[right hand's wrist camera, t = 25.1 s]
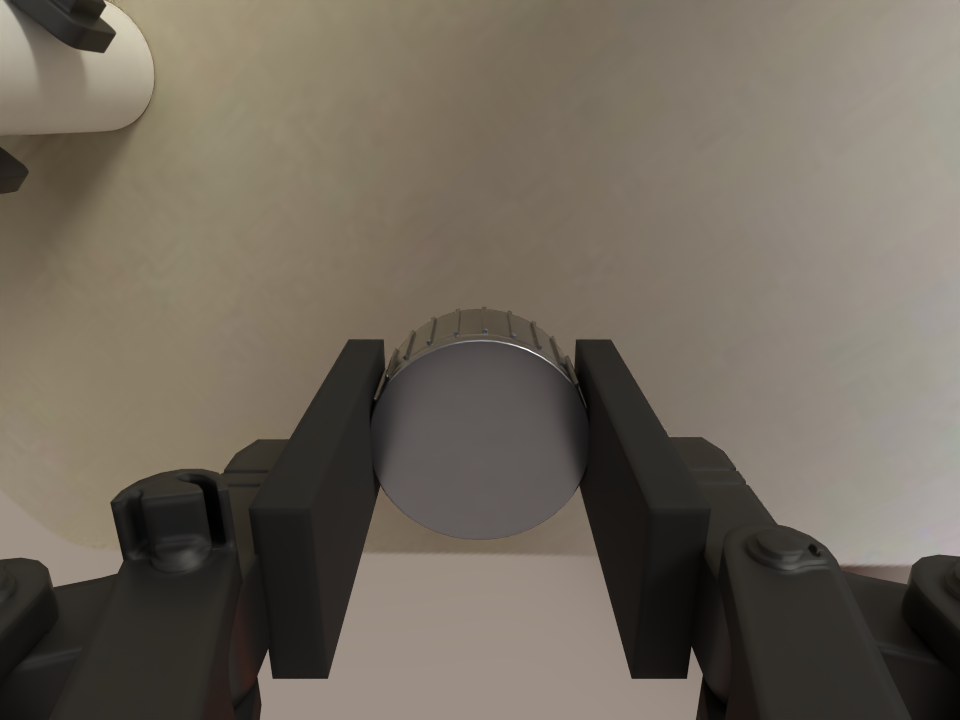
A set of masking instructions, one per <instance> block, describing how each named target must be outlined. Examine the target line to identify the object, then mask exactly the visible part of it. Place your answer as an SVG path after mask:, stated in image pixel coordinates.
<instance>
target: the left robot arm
mask: <svg viewBox="0 0 960 720" xmlns="http://www.w3.org/2000/svg"><path fill="white" fill-rule="evenodd" d="M11 1H12V2H13V3H14V4H15V5H17V6H18V7H19V8H20V9H21V10H23V11H24V12H25V13H26V14H27V15H29V16H30V17H31V18H32V19H33V20H35V21H36V22H37V23H38V24H40V25H41V26H42V27H43V28H44V29H46V30H47V31H48V32H49V33H50V34H52V35H53V36H54V37H55V38H57V39H58V40H60V41H61V42H63V43H65V44H66V45H68V46H70V47H72V48H75V49H78V50H84V51H90V52H97V53H105V51H106V50H107V48H108V47H109V45H110V43H111V42H112V40H113V39H114V37H115V35H116V31H115V30H114V29H113V28H112V27H111V26H110V25H109V24H108V23H106V22H105V21H104V20H103V19H102V18H101V17H100V16H101V14H102V12H103V11H104V9H105V7H106V6H107V5H106V4H105V2H104V0H11ZM28 173H29V172H28V169H27V168H26V167H25V166H24V165H23V164H22V163H21V162H19V161H18V160H17V159H15V158H14V157H13V156H12V155H10V154H9V153H8V152H6V151H5V150H4V149H3V148H1V147H0V194H3V193H9V192H15V191H17V190H18V189H19V187H20V186H21V184H22V183H23V181H24V179H25V178H26V176H27V175H28Z"/></svg>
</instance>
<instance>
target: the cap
mask: <svg viewBox="0 0 960 720" xmlns="http://www.w3.org/2000/svg"><path fill="white" fill-rule="evenodd" d="M579 386H580V384H579V381H578V379H577V376H576V373H575V371H574V368H573V366H572V363H571V361H570V358H569V356H568V355H567V356H565V355H564V353H563V352H562V350H561V349H560V347H559V346H558V345H557V342H556V339H555V338H554V337H553V336H552V337H550V336H549V335H547V334H546V333H545V332H544V331H543V330H542V329H540V328H539V327H537V326H536V322H534V321H532V322H529V321H527V320H525V319H523V318H521V317H518V316H515V315H513V314H512V312H511V311H508V313H506V312H501V311H497V310H487V309H486V307H482V309H472V310H462V311H460V309H456V312H453V313H450V314H447V315H444V316H441V317H439V318H437V319H436V318H435V317H433V318H431V321H430V322H428V323H427V324H425V325H424V326H422V327H421V328H419V329H418V330H417V331H415V332H414V331H413V330H412V331H411V332H410V335H409V337H408V339H407V340H406V341H405V342H404V343H403V344H402V345H401V346H400V348H399V349H395V350H394V352H393V355H392V358H391V360H390V363H389V366H388V369H387V370H384V372H383V375H382V378H381V380H380V383H379V386H378V388H377V391H376V394H375V396H374V399H373V402H375V406H374V409H373V412H372V415H371V418H370V437H371V452H372V466H373V470H374V473H375V475H376V477H377V480H378V482H379V484H380V485H381V487H382V488H383V490H384V492H385V493H386V495H387V496H388V497H389V498H390V500H391V501H392V502H393V503H394V504H395V505H396V506H397V507H398V508H399V509H400V510H401V511H402V512H403V513H404V514H406V515H407V516H408V517H410V518H411V519H412V520H414V521H416V522H417V523H419V524H421V525H423V526H424V527H426V528H429V529H431V530H433V531H436V532H438V533H441V534H445V535H448V536H451V537H457V538H463V539H475V540H484V539H496V538H502V537H508V536H511V535H515V534H518V533H521V532H524V531H526V530H529V529H531V528H533V527H535V526H537V525H539V524H540V523H542V522H544V521H545V520H547V519H548V518H550V517H551V516H552V515H554V514H555V513H556V512H557V511H558V510H559V509H561V508H562V507H563V506H564V505H565V504H566V502H567V501H568V500H569V499H570V498H571V497H572V495H573V494H574V492H575V491H576V489H577V488H578V486H579V485H580V483H581V481H582V479H583V476H584V474H585V472H586V469H587V459H588V443H589V427H590V419H589V416H588V412H587V407H586V404H585V401H584V399H583V396H582V393H581V390H580V388H579Z"/></svg>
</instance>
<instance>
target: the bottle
mask: <svg viewBox="0 0 960 720" xmlns="http://www.w3.org/2000/svg"><path fill="white" fill-rule="evenodd" d="M104 2H105V4H106V5H107V6H106V7H105V9H104V11H103V12H102V14H101V16H100V17H101V18H102V19H103V20H104V21H105V22H106V23H108V24H109V25H110V26H111V27H112V28H113V29H114V30H115V31H116V35H115V37H114V39H113V40H112V42H111V43H110V45H109V47H108V48H107V50H106V51H105V53H97V52H90V51H84V50H78V49H75V48H72V47H70V46H68V45H66V44H65V43H63V42H61V41H60V40H58V39H57V38H55V37H54V36H53V35H52V34H50V33H49V32H48V31H47V30H46V29H44V28H43V27H42V26H41V25H40V24H38V23H37V22H36V21H35V20H33V19H32V18H31V17H30V16H29V15H27V14H26V13H25V12H24V11H23V10H21V9H20V8H19V7H18V6H17V5H15V4H14V3H13V2H12V1H11V0H0V136H10V135H33V134H55V133H78V132H101V131H113V130H117V129H121V128H123V127H125V126H128V125H129V124H131V123H132V122H134V121H135V120H136V119H137V118H138V117H140V116H141V114H142V113H143V112H144V110H145V109H146V107H147V105H148V103H149V101H150V99H151V96H152V92H153V88H154V66H153V60H152V57H151V53H150V50H149V48H148V45H147V43H146V41H145V39H144V37H143V35H142V34H141V32H140V31H139V29H138V28H137V26H136V25H135V24H134V23H133V21H132V20H131V19H130V18H129V17H128V16H127V15H126V14H125V13H124V12H123V11H121V10H120V9H119V8H117V7H116V6H114V5H113V4H111V3H109V2H108V1H105V0H104Z"/></svg>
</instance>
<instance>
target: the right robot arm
mask: <svg viewBox="0 0 960 720" xmlns="http://www.w3.org/2000/svg"><path fill="white" fill-rule="evenodd" d="M384 370H385V357H384V340H348V342H347V343H346V345H345V347H344V348H343V350H342V352H341V353H340V355H339V357H338V359H337V360H336V362H335V364H334V365H333V367H332V369H331V370H330V372H329V374H328V375H327V377H326V379H325V380H324V382H323V384H322V385H321V387H320V389H319V390H318V392H317V394H316V395H315V397H314V399H313V401H312V402H311V404H310V406H309V407H308V409H307V411H306V412H305V414H304V416H303V417H302V419H301V421H300V422H299V424H298V426H297V427H296V429H295V431H294V432H293V434H292V436H291V437H290V439H286V440H257V441H255V442H253V443H252V444H250V445H249V446H247V447H246V448H244V449H243V450H241V451H239V452H238V453H236V454H235V456H234V457H233V459H232V460H231V461H230V463H229V464H228V465H227V467H226V468H225V470H224V473H222V474H221V475H220V474H219V473H217V472H213V471H209V470H204V469H180V470H174V471H169V472H163V473H159V474H156V475H153V476H150V477H148V478H145V479H142V480H139V481H137V482H136V483H134V484H132V485H130V486H129V487H127V488H125V489H124V490H122V491H121V492H120V493H119V494H118V495H117V496H116V497H115V498H114V499H113V500H112V501H111V502H110V503H111V508H112V512H113V516H114V521H115V525H116V530H117V534H118V538H119V543H120V547H121V551H122V556H123V560H124V561H123V563H122V565H121V567H120V569H119V572H118V574H114V575H110V576H106V577H103V578H98V579H93V580H88V581H83V582H78V583H73V584H68V585H63V586H58V587H53V585H52V581H51V578H50V574H49V571H48V568H47V567H46V566H44V565H43V564H42V563H41V562H39V561H37V560H32V559H26V558H13V559H3V560H0V720H260V712H261V698H260V691H259V684H258V678H257V675H258V673H259V670H260V668H261V665H262V663H263V660H264V658H265V655H266V653H267V650H268V649H269V656H270V663H271V670H272V677H273V679H328V676H329V672H330V669H331V665H332V661H333V658H334V654H335V650H336V647H337V643H338V639H339V636H340V632H341V628H342V624H343V621H344V617H345V613H346V610H347V606H348V602H349V599H350V595H351V591H352V588H353V584H354V580H355V577H356V573H357V569H358V566H359V562H360V558H361V554H362V551H363V547H364V543H365V540H366V536H367V532H368V529H369V525H370V521H371V518H372V514H373V510H374V507H375V503H376V499H377V496H378V492H379V488H380V484H379V482H378V480H377V477H376V475H375V473H374V470H373V466H372V452H371V437H370V418H371V415H372V412H373V409H374V406H375V402H373V399H374V396H375V394H376V391H377V388H378V386H379V383H380V380H381V378H382V375H383V372H384ZM574 371H575V373H576V376H577V379H578V381H579V384H580V386H579V388H580V390H581V393H582V396H583V399H584V401H585V404H586V407H587V412H588V416H589V419H590V427H589V443H588V459H587V469H586V472H585V474H584V476H583V479H582V481H581V483H580V485H579V486H580V490H581V493H582V497H583V501H584V504H585V508H586V512H587V516H588V519H589V523H590V527H591V530H592V534H593V538H594V541H595V545H596V549H597V552H598V556H599V560H600V563H601V567H602V571H603V574H604V578H605V582H606V585H607V589H608V593H609V596H610V600H611V604H612V608H613V611H614V615H615V619H616V622H617V626H618V630H619V633H620V637H621V641H622V645H623V648H624V652H625V656H626V659H627V663H628V667H629V670H630V674H631V678H632V679H687V674H688V667H689V660H690V653H691V646H692V648H693V651H694V653H695V656H696V658H697V661H698V663H699V666H700V668H701V671H702V673H703V678H702V684H701V691H700V697H699V704H698V710H697V717H696V720H960V557H958V556H948V555H934V556H928V557H922V558H921V559H920V560H918V561H917V562H916V563H915V564H913V565H912V568H911V572H910V576H909V579H908V583H907V584H901V583H896V582H891V581H887V580H881V579H876V578H871V577H866V576H861V575H857V574H853V573H849V572H845V571H842V570H841V568H840V566H839V564H838V562H837V560H836V559H835V557H834V556H833V555H832V554H831V552H830V551H829V550H828V548H827V547H826V546H824V545H823V544H821V543H820V542H818V541H817V540H815V539H814V538H813V537H811V536H809V535H807V534H805V533H802V532H800V531H797V530H795V529H793V528H790V527H786V526H781V525H777V523H776V522H775V520H774V519H773V518H772V516H771V515H770V514H769V512H768V511H767V510H766V508H765V507H764V505H763V504H762V503H761V501H760V500H759V499H758V497H757V496H756V495H755V493H754V492H753V491H752V489H751V488H750V486H749V485H746V481H745V480H744V478H743V477H742V476H741V474H740V473H739V471H736V467H735V466H734V465H733V463H732V462H731V461H730V459H729V458H728V457H727V455H726V454H725V452H724V451H722V450H721V449H719V448H718V447H716V446H714V445H713V444H711V443H710V442H708V441H707V440H705V439H703V438H702V437H668V435H667V433H666V432H665V430H664V428H663V427H662V425H661V423H660V421H659V420H658V418H657V416H656V415H655V413H654V411H653V410H652V408H651V406H650V405H649V403H648V401H647V400H646V398H645V396H644V395H643V393H642V391H641V390H640V388H639V386H638V384H637V383H636V381H635V379H634V378H633V376H632V374H631V373H630V371H629V369H628V368H627V366H626V364H625V363H624V361H623V359H622V358H621V356H620V354H619V353H618V351H617V349H616V348H615V346H614V344H613V342H612V341H611V340H576V348H575V367H574Z"/></svg>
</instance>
